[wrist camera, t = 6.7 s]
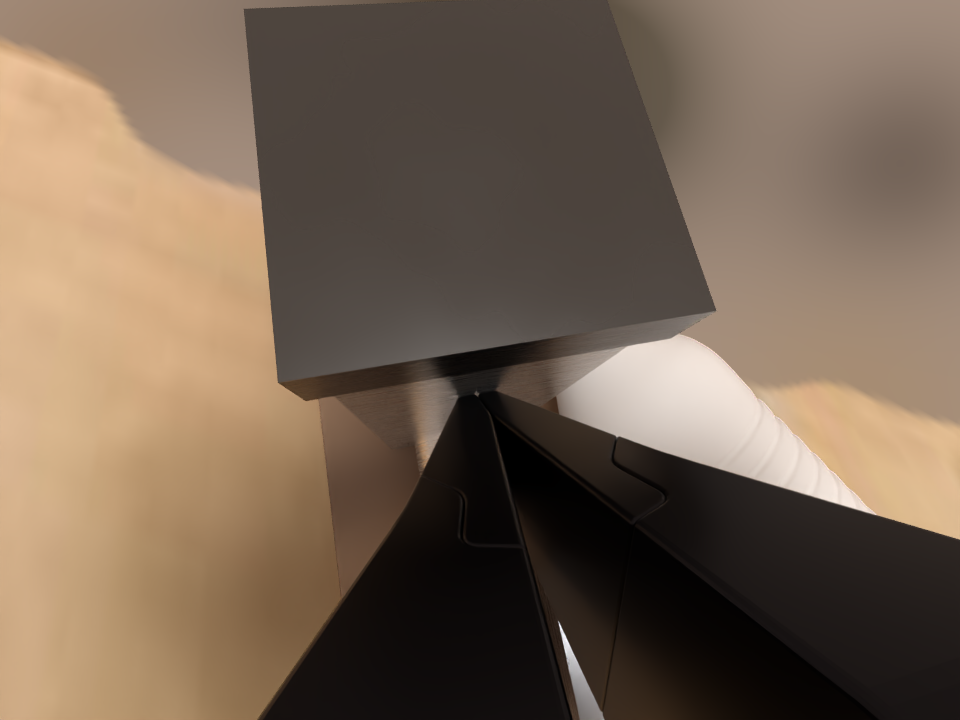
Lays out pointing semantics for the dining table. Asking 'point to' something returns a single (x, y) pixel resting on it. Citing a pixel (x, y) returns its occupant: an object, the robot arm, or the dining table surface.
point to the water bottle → (698, 416)
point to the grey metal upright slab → (459, 205)
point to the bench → (365, 485)
